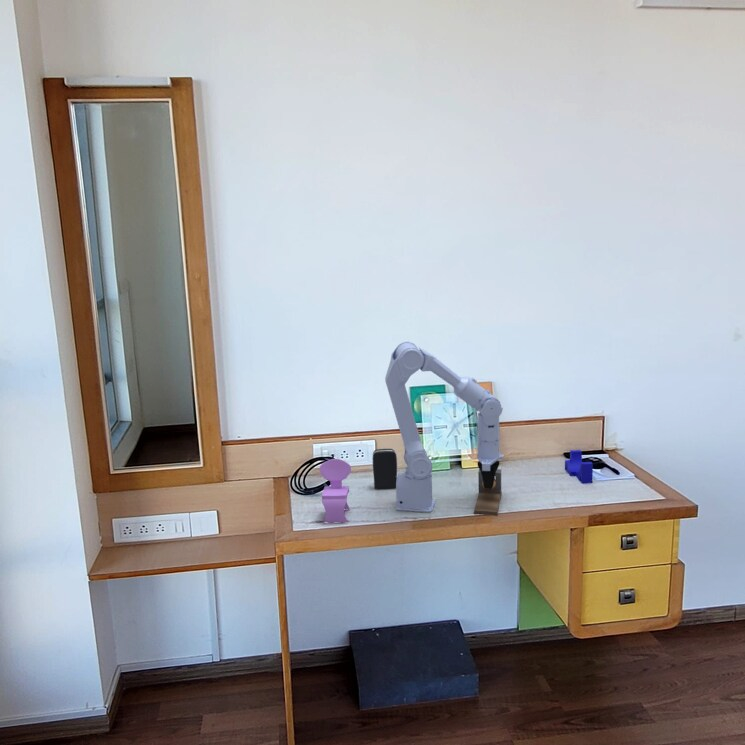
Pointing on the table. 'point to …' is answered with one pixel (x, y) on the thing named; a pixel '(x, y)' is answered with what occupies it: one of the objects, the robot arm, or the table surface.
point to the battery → (384, 468)
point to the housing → (497, 488)
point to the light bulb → (492, 488)
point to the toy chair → (335, 489)
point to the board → (487, 504)
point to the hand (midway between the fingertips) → (488, 487)
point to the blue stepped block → (579, 467)
